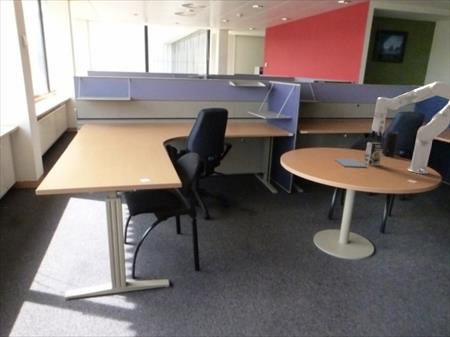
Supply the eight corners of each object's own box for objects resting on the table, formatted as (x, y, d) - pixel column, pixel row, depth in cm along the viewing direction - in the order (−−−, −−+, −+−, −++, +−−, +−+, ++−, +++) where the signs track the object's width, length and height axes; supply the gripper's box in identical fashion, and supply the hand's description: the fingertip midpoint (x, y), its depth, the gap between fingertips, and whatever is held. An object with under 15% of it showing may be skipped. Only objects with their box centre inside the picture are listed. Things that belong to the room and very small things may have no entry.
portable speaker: (389, 157, 276) (394, 133, 270) (379, 154, 283) (384, 131, 278) (396, 156, 279) (401, 132, 274) (386, 154, 287) (391, 130, 282)
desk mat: (366, 167, 240) (367, 166, 240) (344, 166, 239) (344, 165, 239) (355, 160, 259) (355, 159, 259) (334, 159, 259) (334, 158, 258)
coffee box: (369, 165, 246) (373, 143, 242) (363, 163, 252) (367, 141, 247) (379, 165, 248) (383, 143, 244) (373, 163, 254) (377, 141, 250)
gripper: (391, 117, 232) (386, 142, 237) (379, 114, 249) (374, 137, 254) (380, 116, 232) (375, 141, 237) (369, 113, 249) (364, 136, 253)
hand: (375, 139), depth 245 cm, fingers open, 9 cm apart
